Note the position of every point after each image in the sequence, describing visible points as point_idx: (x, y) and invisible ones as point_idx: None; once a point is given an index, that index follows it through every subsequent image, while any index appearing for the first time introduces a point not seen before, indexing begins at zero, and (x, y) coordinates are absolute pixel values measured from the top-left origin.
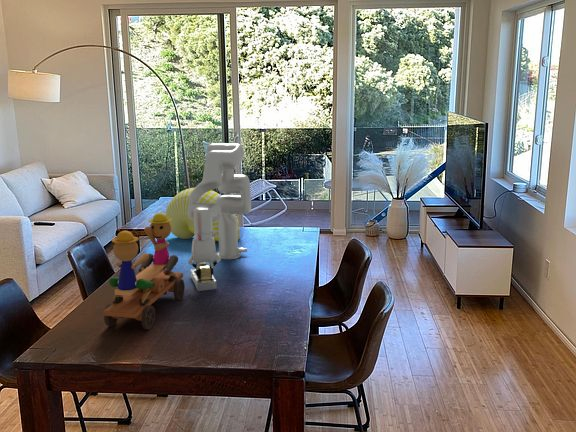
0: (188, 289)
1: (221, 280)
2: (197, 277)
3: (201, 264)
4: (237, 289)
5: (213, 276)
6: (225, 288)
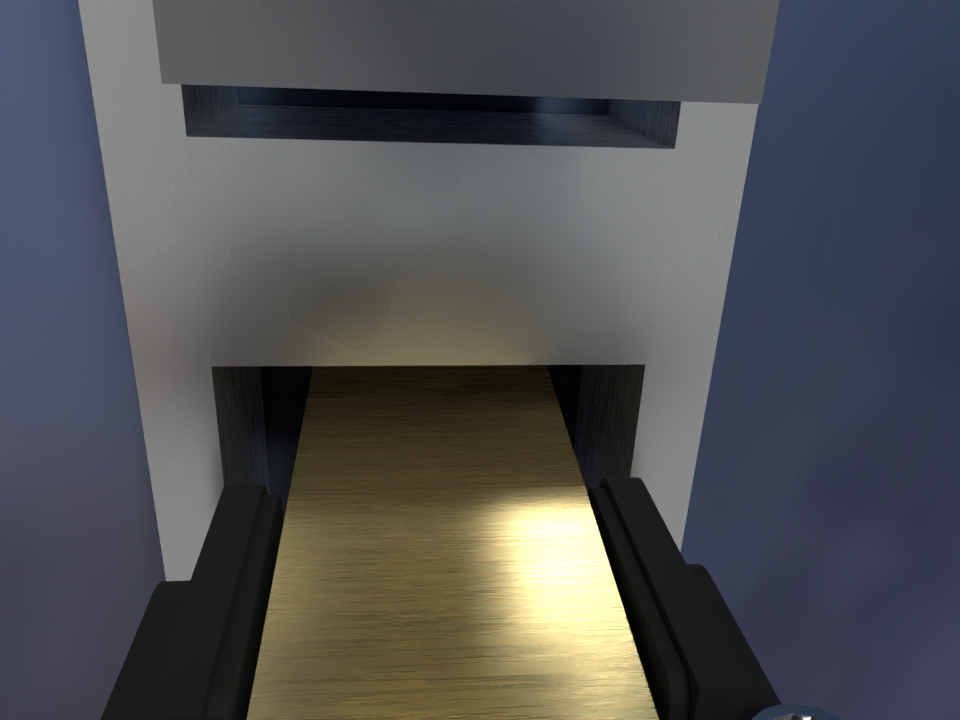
0: (37, 521)
1: (885, 168)
2: (235, 355)
3: (448, 84)
4: (906, 711)
5: (694, 463)
6: (753, 634)
